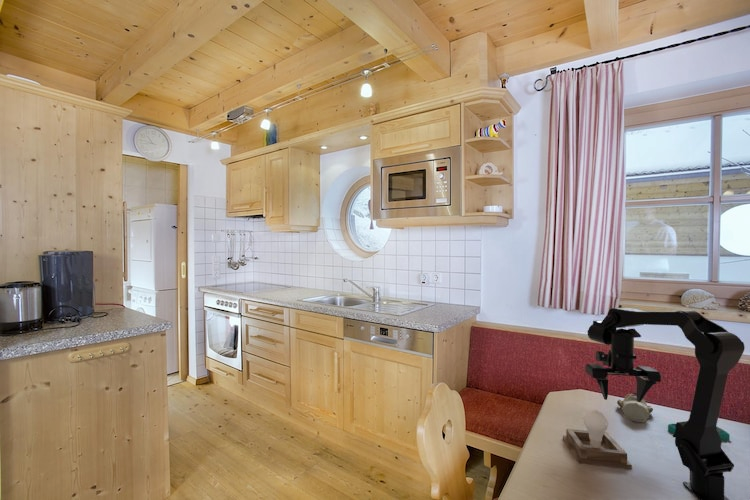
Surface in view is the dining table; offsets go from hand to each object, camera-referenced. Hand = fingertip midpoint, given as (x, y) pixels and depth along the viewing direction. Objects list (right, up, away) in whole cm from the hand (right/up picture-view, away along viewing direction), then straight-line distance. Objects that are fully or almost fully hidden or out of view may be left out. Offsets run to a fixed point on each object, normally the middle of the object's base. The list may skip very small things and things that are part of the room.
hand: (621, 400), depth 107 cm
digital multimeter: (+28, -14, +5) cm, 32 cm away
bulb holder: (-11, -13, -5) cm, 18 cm away
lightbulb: (-11, -12, -5) cm, 17 cm away
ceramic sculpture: (+18, -14, +18) cm, 29 cm away
